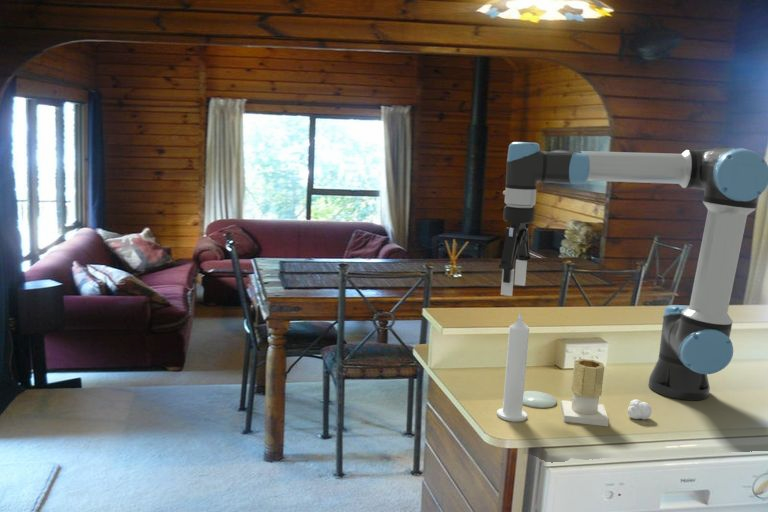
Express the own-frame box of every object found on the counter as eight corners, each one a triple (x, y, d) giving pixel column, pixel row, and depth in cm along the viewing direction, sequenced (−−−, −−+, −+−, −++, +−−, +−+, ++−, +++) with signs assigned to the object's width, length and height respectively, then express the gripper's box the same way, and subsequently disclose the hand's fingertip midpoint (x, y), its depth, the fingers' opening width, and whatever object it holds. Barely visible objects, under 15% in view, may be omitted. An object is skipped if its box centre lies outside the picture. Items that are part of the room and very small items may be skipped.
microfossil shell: (631, 401, 175) (655, 406, 174) (627, 394, 180) (650, 398, 179) (627, 419, 176) (651, 424, 175) (624, 412, 181) (647, 416, 180)
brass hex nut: (599, 388, 179) (601, 360, 177) (602, 398, 172) (605, 369, 171) (570, 385, 180) (573, 358, 178) (573, 395, 173) (576, 366, 172)
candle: (520, 424, 170) (529, 318, 166) (491, 416, 174) (500, 313, 169) (531, 415, 176) (540, 312, 171) (503, 407, 180) (512, 307, 175)
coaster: (555, 395, 190) (555, 393, 190) (557, 410, 180) (557, 407, 180) (515, 391, 191) (515, 389, 191) (515, 405, 181) (516, 403, 181)
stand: (602, 410, 181) (607, 369, 179) (608, 426, 171) (612, 383, 170) (561, 405, 183) (565, 365, 181) (563, 421, 173) (568, 378, 171)
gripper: (516, 200, 195) (511, 279, 198) (490, 208, 172) (484, 297, 176) (545, 202, 192) (538, 282, 195) (522, 211, 169) (516, 302, 173)
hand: (513, 290), depth 186 cm, fingers open, 13 cm apart
